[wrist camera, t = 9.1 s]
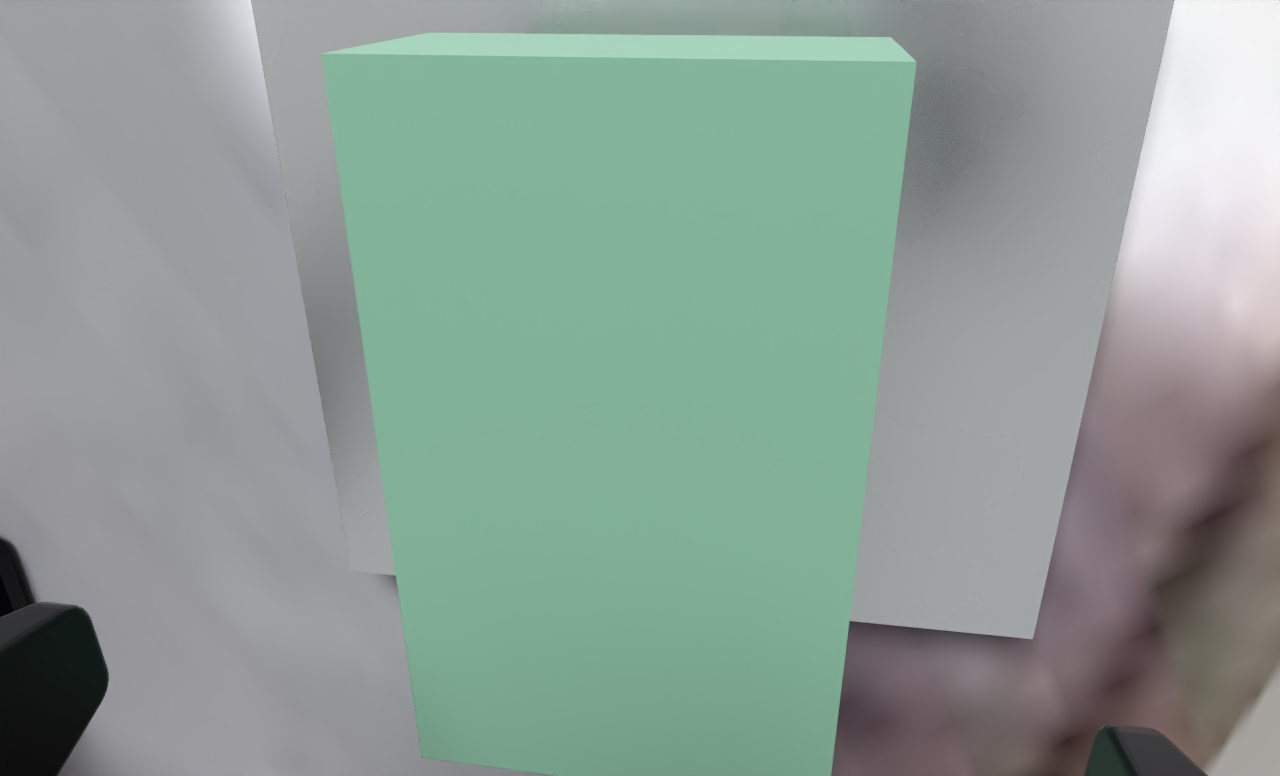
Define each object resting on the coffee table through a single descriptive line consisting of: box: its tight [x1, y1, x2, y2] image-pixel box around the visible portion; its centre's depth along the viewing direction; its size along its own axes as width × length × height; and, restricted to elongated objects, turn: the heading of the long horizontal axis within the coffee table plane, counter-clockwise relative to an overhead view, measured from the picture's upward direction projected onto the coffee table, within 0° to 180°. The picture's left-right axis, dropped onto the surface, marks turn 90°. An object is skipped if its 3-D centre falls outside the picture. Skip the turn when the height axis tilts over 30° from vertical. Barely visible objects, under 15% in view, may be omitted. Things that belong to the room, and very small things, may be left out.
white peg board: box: [251, 0, 1174, 639], centre depth 15 cm, size 12×14×4 cm
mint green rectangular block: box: [321, 33, 917, 776], centre depth 12 cm, size 10×6×3 cm, turn 0°
